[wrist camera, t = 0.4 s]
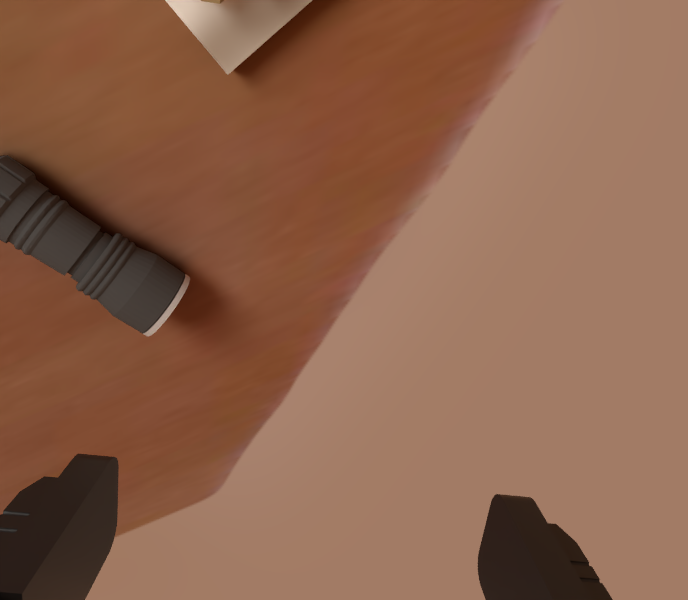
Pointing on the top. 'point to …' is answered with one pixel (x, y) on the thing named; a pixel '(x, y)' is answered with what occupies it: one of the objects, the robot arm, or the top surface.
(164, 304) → the flashlight
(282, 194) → the top surface
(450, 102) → the top surface
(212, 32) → the gear board
